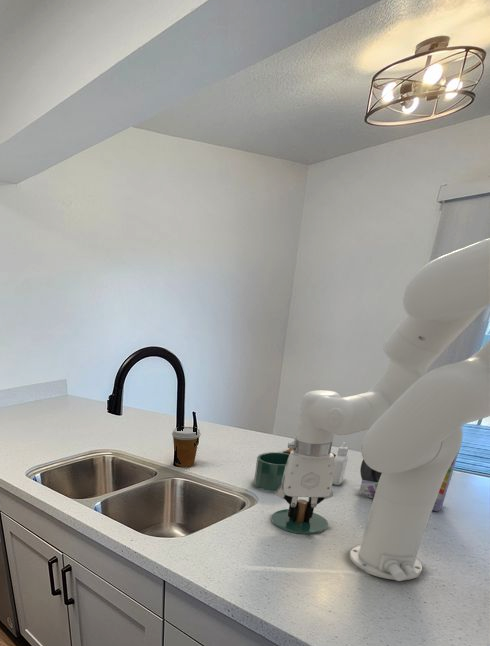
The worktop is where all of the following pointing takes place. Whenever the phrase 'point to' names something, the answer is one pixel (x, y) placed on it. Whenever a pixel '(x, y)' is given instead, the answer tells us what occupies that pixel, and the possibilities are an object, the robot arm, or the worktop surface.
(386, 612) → the worktop surface
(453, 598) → the worktop surface
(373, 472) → the cake pan box
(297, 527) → the lid
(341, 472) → the eye dropper bottle
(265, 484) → the canister
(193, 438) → the disposable coffee cup
